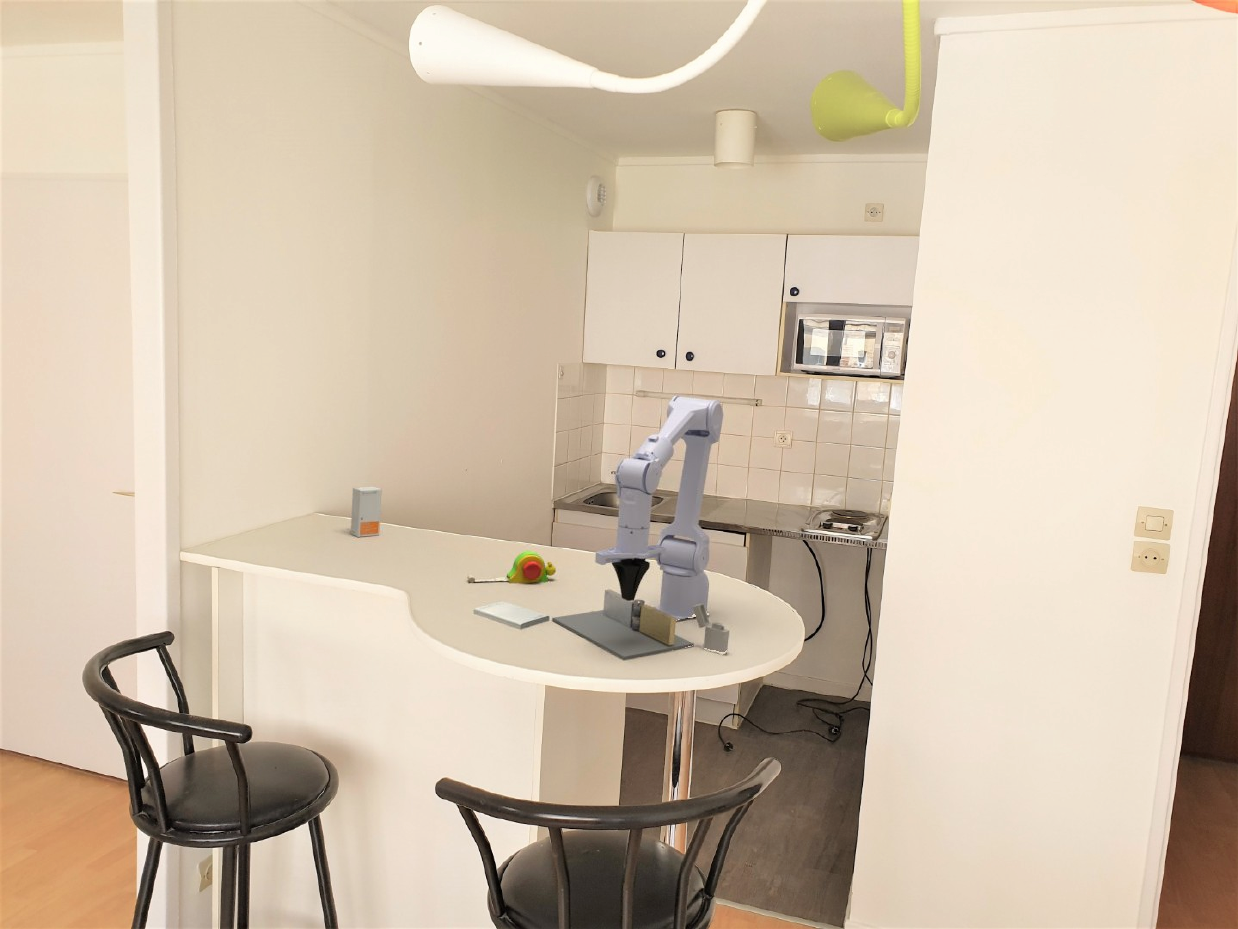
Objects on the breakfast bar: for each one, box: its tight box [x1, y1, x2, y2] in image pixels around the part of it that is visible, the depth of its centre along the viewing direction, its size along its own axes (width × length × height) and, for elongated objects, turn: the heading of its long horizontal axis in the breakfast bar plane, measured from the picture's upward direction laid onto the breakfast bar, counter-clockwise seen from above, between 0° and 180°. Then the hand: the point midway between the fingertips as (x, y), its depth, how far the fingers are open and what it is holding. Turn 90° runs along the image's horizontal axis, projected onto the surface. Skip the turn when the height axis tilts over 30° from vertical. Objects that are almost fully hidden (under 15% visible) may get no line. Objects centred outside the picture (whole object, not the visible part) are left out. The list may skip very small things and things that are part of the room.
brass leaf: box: [633, 599, 677, 645], centre depth 172 cm, size 11×2×5 cm, turn 37°
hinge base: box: [551, 588, 694, 661], centre depth 175 cm, size 16×23×6 cm
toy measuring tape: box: [467, 550, 557, 584], centre depth 204 cm, size 6×20×7 cm, turn 109°
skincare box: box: [350, 486, 383, 538], centre depth 235 cm, size 6×4×12 cm
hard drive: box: [473, 600, 550, 630], centre depth 180 cm, size 2×8×12 cm
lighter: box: [693, 603, 730, 652], centre depth 170 cm, size 7×2×8 cm, turn 54°
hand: (627, 599), depth 169 cm, fingers closed
